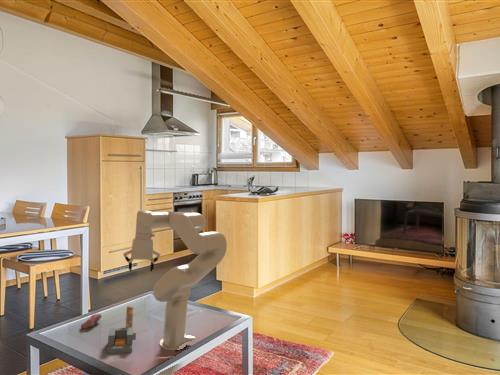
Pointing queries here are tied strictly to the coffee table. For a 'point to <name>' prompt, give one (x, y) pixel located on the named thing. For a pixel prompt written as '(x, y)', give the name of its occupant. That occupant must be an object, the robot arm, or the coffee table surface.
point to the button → (120, 342)
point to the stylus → (129, 317)
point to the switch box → (119, 334)
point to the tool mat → (134, 336)
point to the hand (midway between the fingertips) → (140, 270)
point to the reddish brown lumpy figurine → (91, 321)
